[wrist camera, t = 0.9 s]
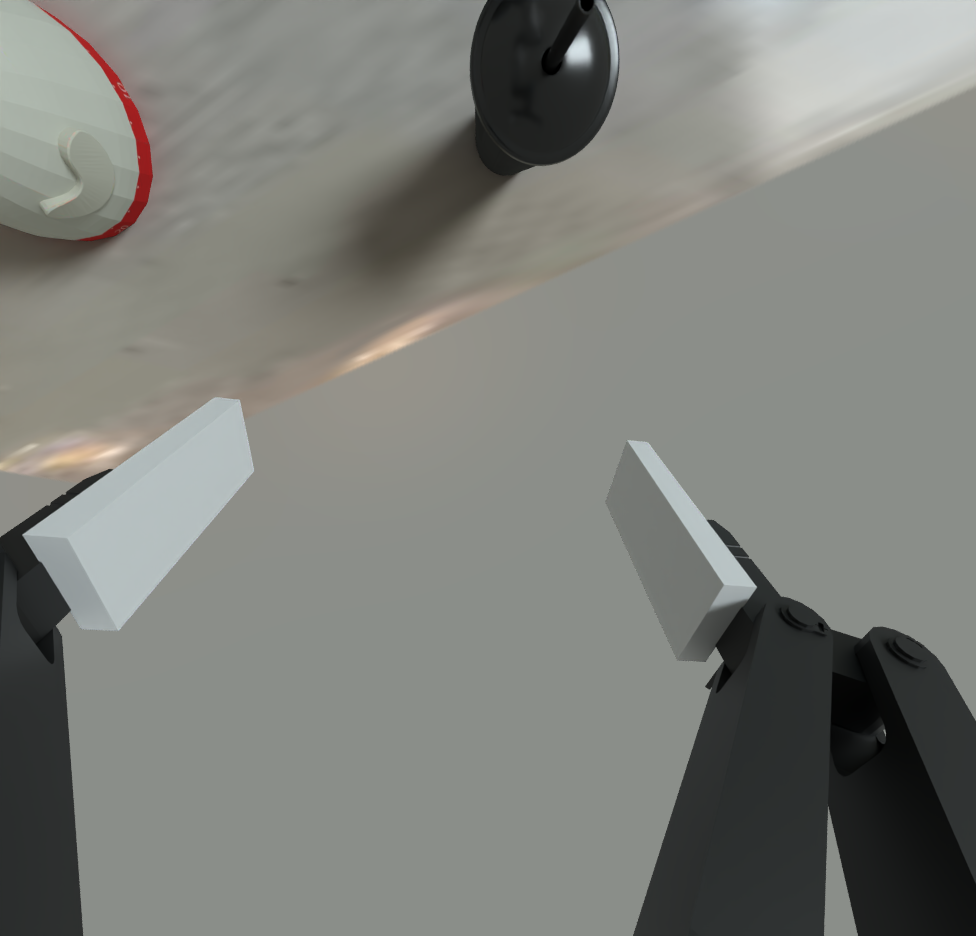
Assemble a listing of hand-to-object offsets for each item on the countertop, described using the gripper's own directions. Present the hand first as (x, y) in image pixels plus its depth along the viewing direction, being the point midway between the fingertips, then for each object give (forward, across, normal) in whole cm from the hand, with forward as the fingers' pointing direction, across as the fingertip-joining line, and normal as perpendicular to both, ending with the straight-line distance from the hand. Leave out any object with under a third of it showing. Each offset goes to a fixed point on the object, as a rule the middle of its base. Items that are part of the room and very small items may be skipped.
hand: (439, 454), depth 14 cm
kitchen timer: (+27, -31, +8) cm, 42 cm away
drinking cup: (+29, +2, +12) cm, 32 cm away
